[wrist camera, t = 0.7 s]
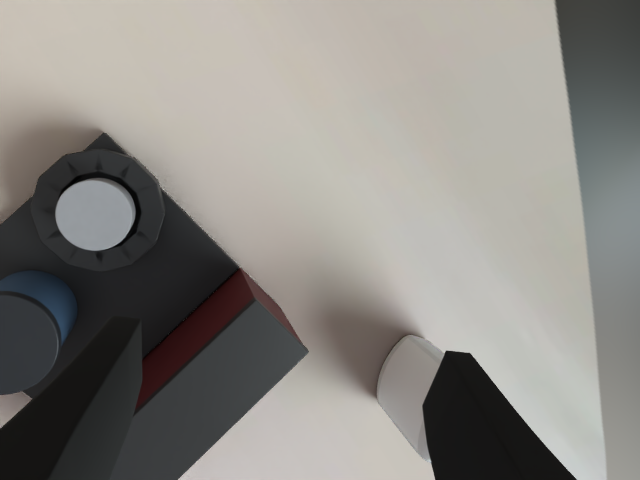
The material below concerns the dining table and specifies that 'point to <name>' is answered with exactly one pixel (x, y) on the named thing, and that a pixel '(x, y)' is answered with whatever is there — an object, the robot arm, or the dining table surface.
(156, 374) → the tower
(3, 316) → the container
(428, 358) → the eye dropper bottle
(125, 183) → the dark grey drip tray
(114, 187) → the power button
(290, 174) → the dining table surface
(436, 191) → the dining table surface
